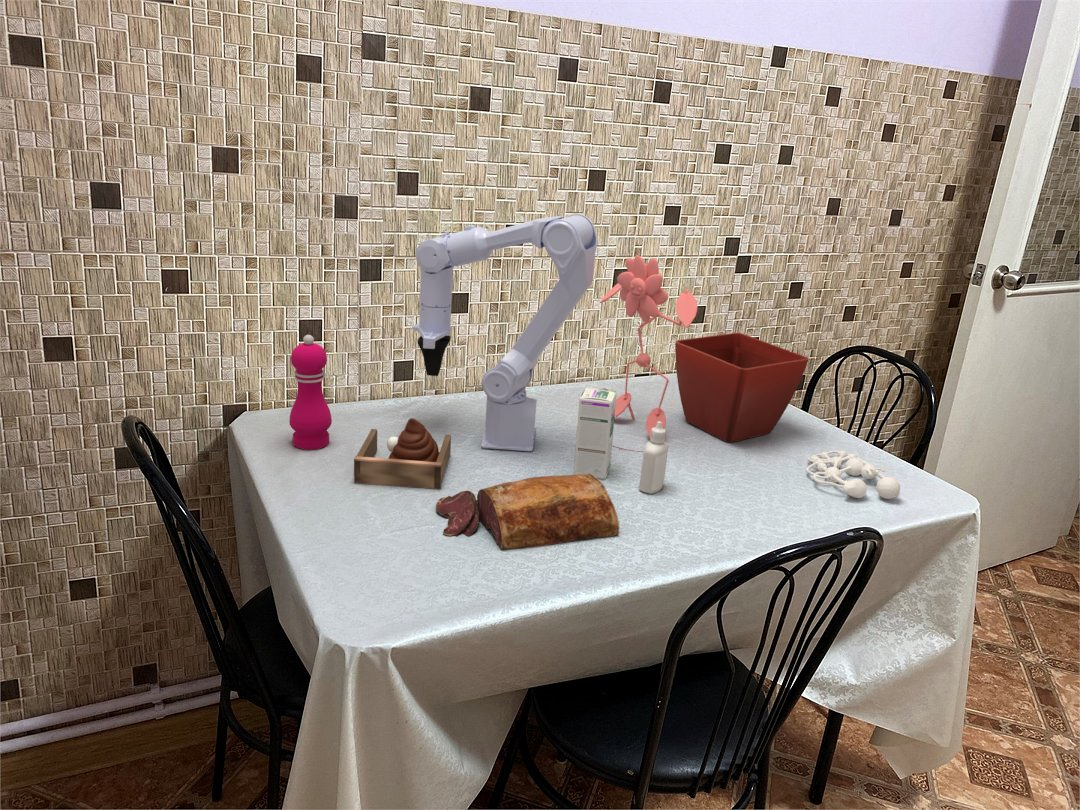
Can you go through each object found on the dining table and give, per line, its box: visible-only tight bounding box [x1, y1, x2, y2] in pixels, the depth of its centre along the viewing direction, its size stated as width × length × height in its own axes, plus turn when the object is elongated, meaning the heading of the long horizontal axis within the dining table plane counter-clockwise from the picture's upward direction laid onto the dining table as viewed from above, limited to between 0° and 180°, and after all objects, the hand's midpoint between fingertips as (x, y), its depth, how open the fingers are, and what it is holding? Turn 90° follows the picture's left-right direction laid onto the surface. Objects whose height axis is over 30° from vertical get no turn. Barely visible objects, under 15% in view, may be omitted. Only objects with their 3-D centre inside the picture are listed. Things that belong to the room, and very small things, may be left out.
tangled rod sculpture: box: [805, 450, 901, 500], centre depth 152 cm, size 19×14×4 cm
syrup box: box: [573, 387, 617, 480], centre depth 145 cm, size 6×6×14 cm
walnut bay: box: [353, 428, 452, 490], centre depth 143 cm, size 14×14×4 cm
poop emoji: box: [386, 417, 440, 462], centre depth 143 cm, size 10×8×9 cm
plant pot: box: [674, 332, 810, 443], centre depth 169 cm, size 19×19×17 cm
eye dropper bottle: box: [638, 421, 669, 495], centre depth 141 cm, size 4×6×12 cm
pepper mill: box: [289, 334, 333, 451], centre depth 147 cm, size 7×7×20 cm
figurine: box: [599, 254, 699, 453], centre depth 159 cm, size 15×26×35 cm, turn 36°
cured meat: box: [435, 473, 620, 550], centre depth 128 cm, size 18×25×7 cm
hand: (432, 374), depth 158 cm, fingers closed
